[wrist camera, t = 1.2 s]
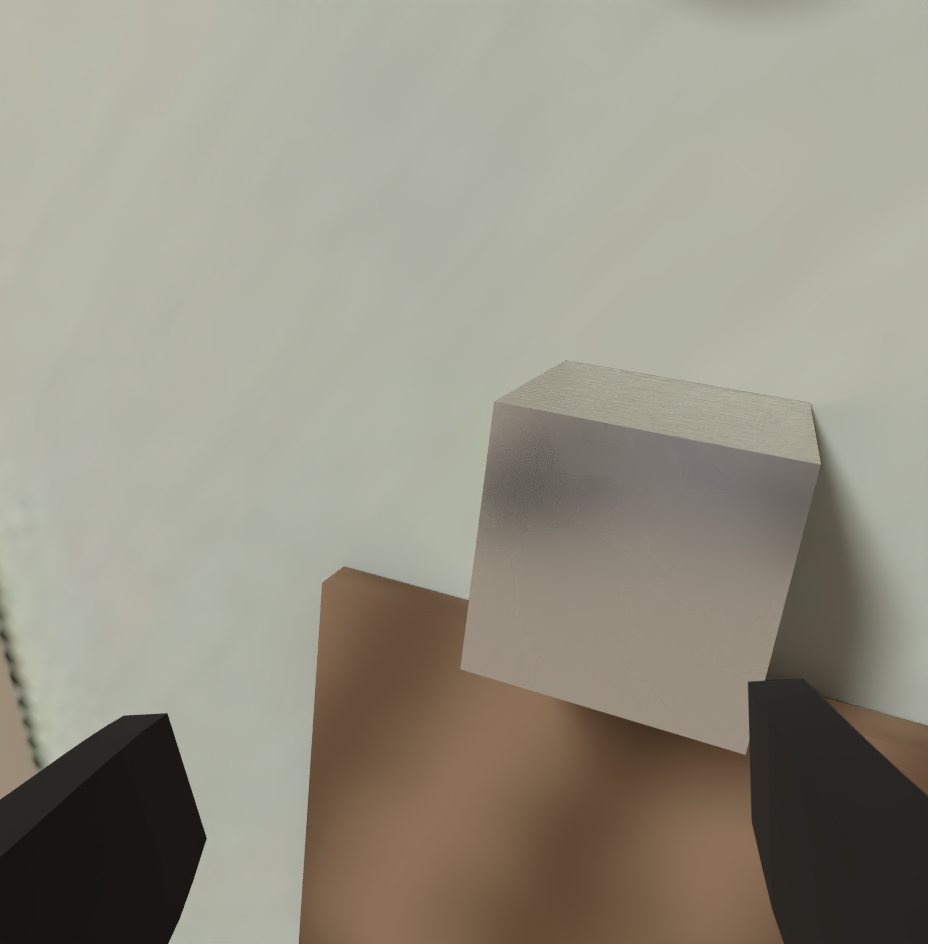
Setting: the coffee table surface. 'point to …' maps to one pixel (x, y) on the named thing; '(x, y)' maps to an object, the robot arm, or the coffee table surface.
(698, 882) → the walnut board
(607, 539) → the brushed aluminum cube
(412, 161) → the coffee table surface
